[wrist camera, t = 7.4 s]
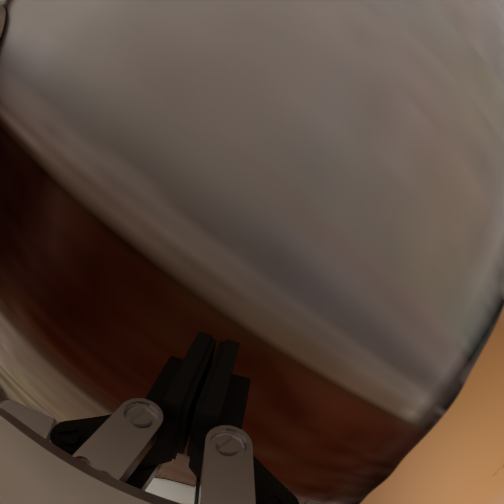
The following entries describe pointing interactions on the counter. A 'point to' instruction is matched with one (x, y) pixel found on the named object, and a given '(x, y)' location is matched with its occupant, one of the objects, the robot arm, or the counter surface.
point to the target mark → (172, 490)
